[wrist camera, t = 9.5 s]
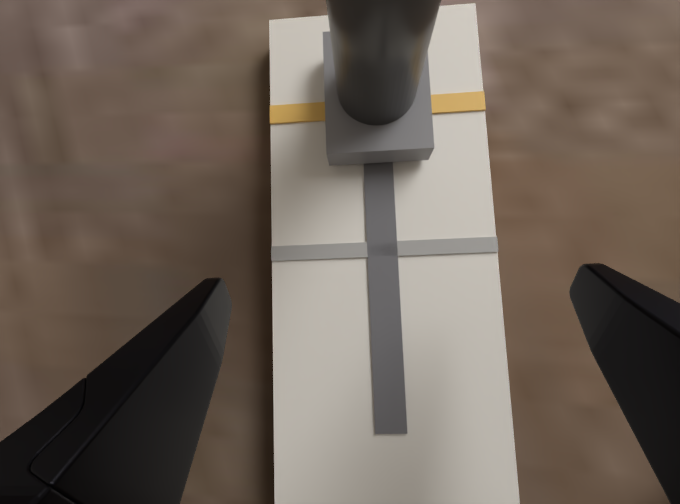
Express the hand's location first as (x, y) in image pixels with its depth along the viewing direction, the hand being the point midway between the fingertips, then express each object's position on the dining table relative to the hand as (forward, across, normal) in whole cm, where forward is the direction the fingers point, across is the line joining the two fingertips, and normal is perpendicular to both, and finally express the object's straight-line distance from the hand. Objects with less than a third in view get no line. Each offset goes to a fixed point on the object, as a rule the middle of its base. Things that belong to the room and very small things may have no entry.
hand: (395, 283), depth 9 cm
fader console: (+5, 0, +4) cm, 7 cm away
